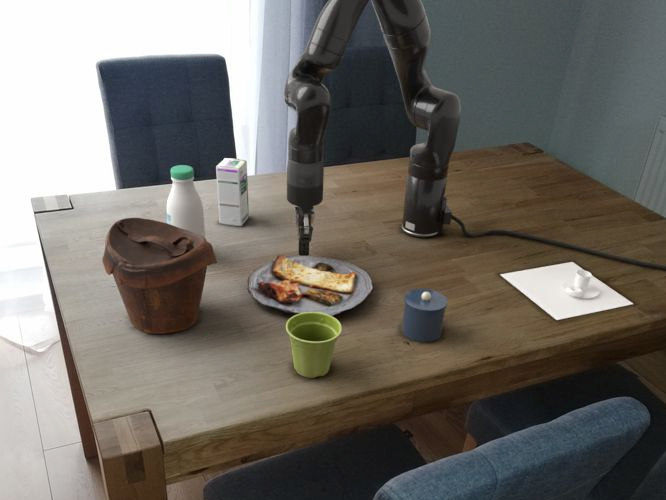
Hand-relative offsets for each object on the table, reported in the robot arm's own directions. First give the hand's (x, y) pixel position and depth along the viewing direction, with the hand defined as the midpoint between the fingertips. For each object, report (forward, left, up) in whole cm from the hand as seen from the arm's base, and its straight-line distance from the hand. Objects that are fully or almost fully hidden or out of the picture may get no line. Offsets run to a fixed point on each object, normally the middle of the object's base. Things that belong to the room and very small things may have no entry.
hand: (303, 254), depth 157 cm
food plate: (0, +14, -2) cm, 14 cm away
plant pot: (+2, +40, -2) cm, 40 cm away
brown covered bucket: (+28, +22, -2) cm, 36 cm away
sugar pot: (-20, +29, -2) cm, 36 cm away
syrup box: (+15, -22, -2) cm, 26 cm away
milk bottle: (+25, -3, -2) cm, 25 cm away
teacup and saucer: (-55, +14, -2) cm, 57 cm away
